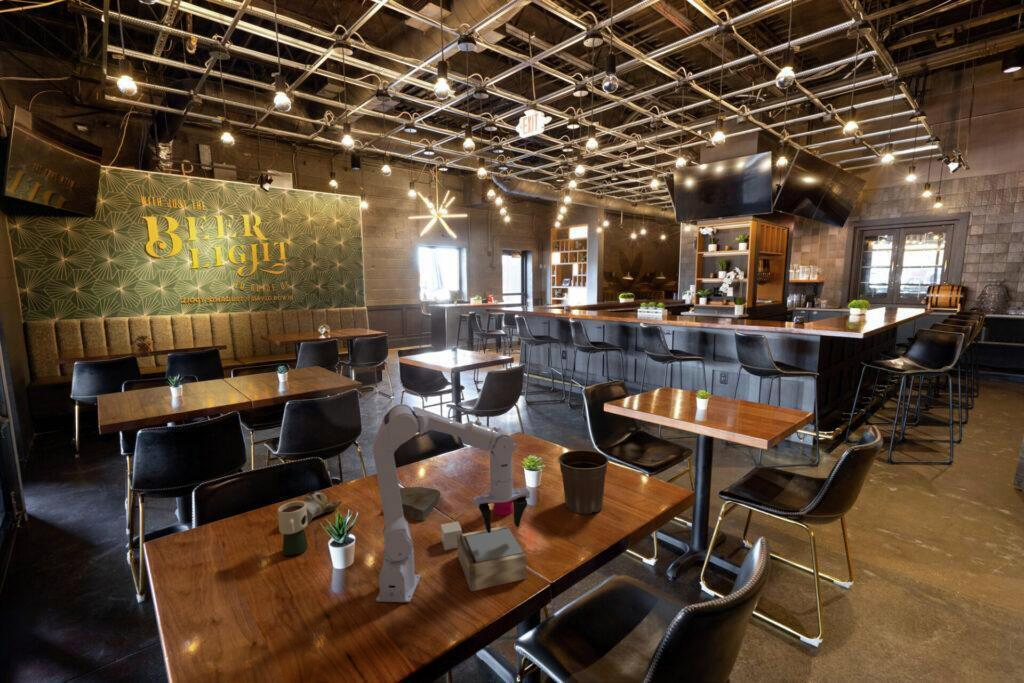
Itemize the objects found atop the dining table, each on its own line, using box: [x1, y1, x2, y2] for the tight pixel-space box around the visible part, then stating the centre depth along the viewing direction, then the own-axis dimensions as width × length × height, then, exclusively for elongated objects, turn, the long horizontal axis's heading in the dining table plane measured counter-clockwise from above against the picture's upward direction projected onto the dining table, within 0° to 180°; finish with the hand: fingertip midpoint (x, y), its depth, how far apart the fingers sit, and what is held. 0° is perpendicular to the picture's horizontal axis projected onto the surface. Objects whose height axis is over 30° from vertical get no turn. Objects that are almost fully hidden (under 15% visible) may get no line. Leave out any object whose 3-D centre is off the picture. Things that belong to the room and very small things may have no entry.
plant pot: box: [557, 449, 610, 515], centre depth 146 cm, size 16×16×16 cm
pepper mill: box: [493, 500, 514, 517], centre depth 143 cm, size 7×7×20 cm
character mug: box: [277, 500, 309, 556], centre depth 124 cm, size 11×7×13 cm, turn 22°
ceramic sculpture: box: [302, 491, 342, 524], centre depth 144 cm, size 11×9×15 cm
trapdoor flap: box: [466, 527, 525, 564], centre depth 115 cm, size 12×12×1 cm
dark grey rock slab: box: [399, 486, 441, 522], centre depth 148 cm, size 17×15×4 cm
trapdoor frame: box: [457, 525, 527, 592], centre depth 115 cm, size 14×15×7 cm
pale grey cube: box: [440, 520, 463, 551], centre depth 126 cm, size 5×5×5 cm
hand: (502, 528), depth 116 cm, fingers open, 7 cm apart
